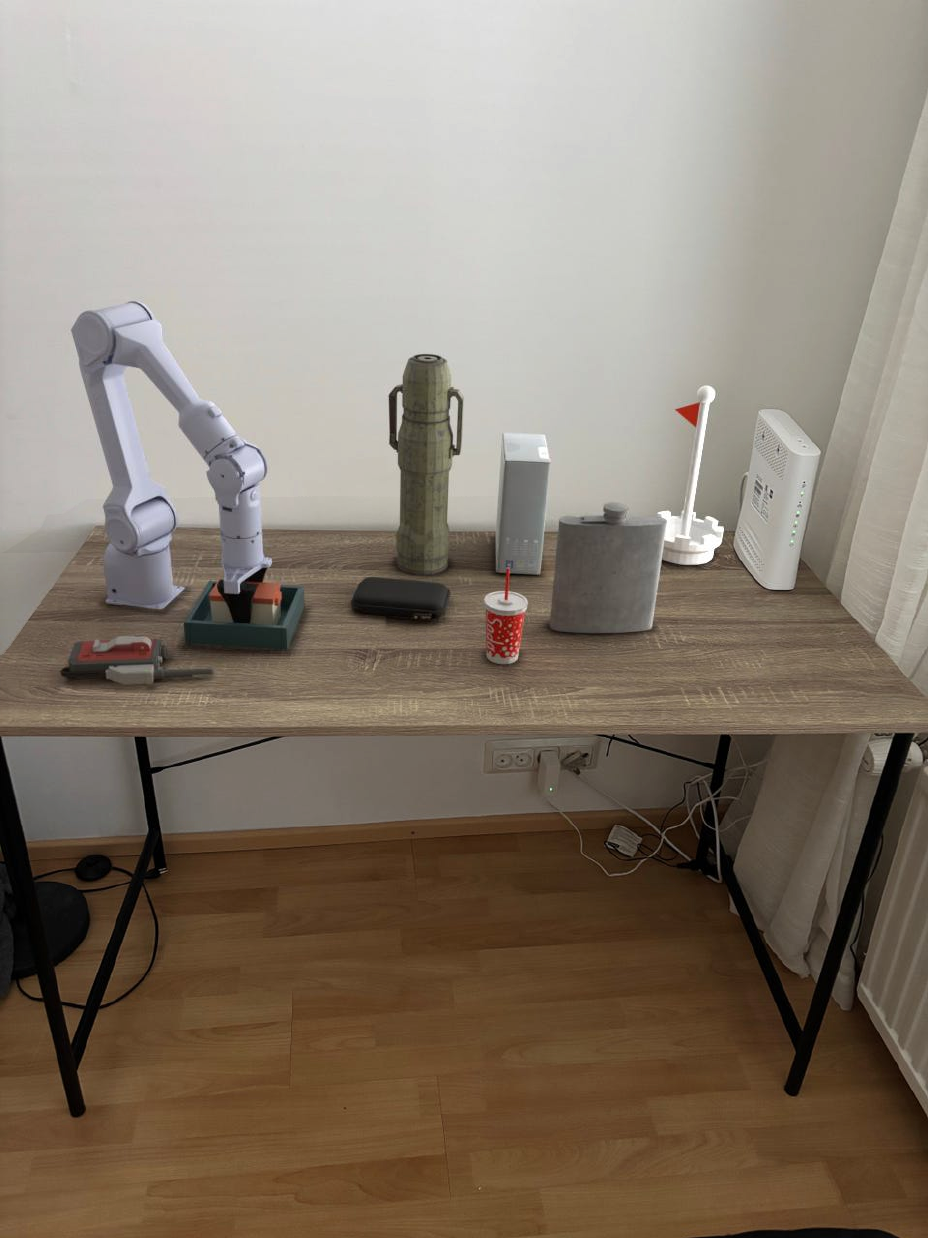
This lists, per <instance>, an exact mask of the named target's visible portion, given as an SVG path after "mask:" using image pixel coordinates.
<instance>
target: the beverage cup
mask: <svg viewBox="0 0 928 1238" xmlns="http://www.w3.org/2000/svg"><path fill="white" fill-rule="evenodd" d="M510 574H511V573H510V568H509V567H507V569H506V573H505V586H504V590H498V591H493V592H490V593H488V594H486V595H485V597H484V599H483V603H484V604H483V606H484V608H485V647H486V648H485V649H486V650H485V655H486V658H487V660H489V661H490V662H492V663H494V664H499V665H508V664H509V665H511V664H513V663H515V662H516V661H518V659H519V653H520V646H521V640H522V634H523V627H524V621H525V613H526V611H527V609H528V604H529V600H528V599H527V597H525V596H524V595H522V594H521V593H518V592H514V591H510V589H509V587H510Z"/></svg>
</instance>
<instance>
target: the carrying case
mask: <svg viewBox="0 0 928 1238" xmlns="http://www.w3.org/2000/svg"><path fill="white" fill-rule="evenodd" d="M451 595H452V594H451V590H450V589H449V588H448V587H447V585H445V584H444V583H442V582H437V581H425V580H417V579H416V580H414V579H404V578H391V577H380V576H379V577H378V576H368V577H365V578H363V579H362V580H361V581H360V582H359V583H358V584H357V587H356V589H355V591H354V594H353V596H352V597H351V600H350V606H351V608H352V609H353V610H355V612H357V613H359V614H367V615H378V616H386V617H388V618H399V619H410V620H413V621H419V620H423V621H436V620H439V619H440V618H442V617H443V616H444V615H445V614H446V612H447V610H448V606H449V603H450V599H451Z"/></svg>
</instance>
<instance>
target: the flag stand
mask: <svg viewBox="0 0 928 1238" xmlns="http://www.w3.org/2000/svg"><path fill="white" fill-rule="evenodd" d="M715 397H716V391H715V389H714V388H713V387H712V386H710V385H703V386H701V387H700V388H698V390H697V392H696V398H697V400H698V401H699V402H696V403H693V404H688V405H685V406H682V407H679V408H675V409H674V411H676V412H677V413H678V414H679V415H680V416H681V417H683V418H684V419H685V420H686V421H687V422H689V424H691V425H692V426H693V427H694V428H695V433H694V439H693V440H694V441H693V447H692V453H691V459H690V465H689V472H688V478H687V484H686V491H685V498H684V504H683V510H681V513H680V515H672V512H671V511H669V510H664V511H663V510H662V511H659V512H657V513H656V516H658V517H662V518H665V519H666V520H667V526H666V533H665V540H664V547H663V554H662V561H665V562H669V563H673V564H678V565H685V566H696V565H702V564H706V563H708V562H709V561H711V560H712V559H713V557H714V552H715V549H716V548H718V547H720V545H721V544H722V541H723V535H724V526H719V520H717V519H715V518H714V517H712V516H705V517H704V520H703V519H700V518H696V514H697V513H696V512H695V511H694V503H695V497H696V491H697V490H696V489H697V484H698V477H699V472H700V471H699V470H700V466H701V459H702V452H703V445H704V440H705V434H706V426H707V420H708V413H709V408H710V403H712V402H713V401H714V399H715Z"/></svg>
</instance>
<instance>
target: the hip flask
mask: <svg viewBox="0 0 928 1238" xmlns="http://www.w3.org/2000/svg"><path fill="white" fill-rule="evenodd" d="M602 509H603V511H602V512H603V515H579V516H576V515H565V516H561V517H560V518H559V519H558V528H557V538H556V539H557V540H556V551H555V562H554V573H553V584H552V595H551V605H550V617H549V628H550V629H551V630H552V631H556V632H562V633H563V632H565V633H574V634H575V633H577V634H622V633H623V634H624V633H634V632H645V631H649V630H652V628H653V624H654V623H653V622H654V615H655V608H656V602H657V595H658V587H659V581H660V575H661V567H662V561H663V560H662V554H663V547H664V540H665V533H666V526H667V520H666V519H665V518H662V517H658V516H657V515H650V516H649V515H647V516H631V517H627V516H628V514H629V509H630V507H629V505H627V504H625V503H623V502H619V501H618V502H617V501H615V502H614V501H609V502H606V503H603V508H602Z"/></svg>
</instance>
